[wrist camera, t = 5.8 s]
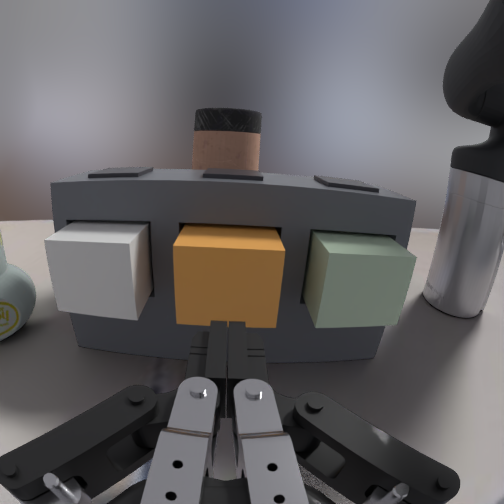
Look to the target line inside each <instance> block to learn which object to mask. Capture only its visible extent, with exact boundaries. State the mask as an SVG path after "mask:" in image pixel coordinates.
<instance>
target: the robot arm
mask: <svg viewBox="0 0 504 504" xmlns="http://www.w3.org/2000/svg"><path fill="white" fill-rule="evenodd" d="M443 92H444V97H445V99H446V102H447V104H448V106H449V107H450V108H451V109H452V111H453V112H455V113H457V114H458V115H460V116H462V117H464V118H466V119H470V120H473V121H476V122H479V123H482V124H485V125H488V126H491V130H490V135H489V138H488V140H487V141H485V142H483V143H480V144H476V145H466V146H458V147H456V148H454V150H453V152H452V158H451V167H452V168H450V174H449V181H448V187H447V194H446V200H445V205H444V211H443V216H442V221H441V225H440V230H439V234H438V239H437V243H436V247H435V251H434V255H433V259H432V263H431V266H430V270H429V274H428V277H427V281H426V284H425V287H424V291H423V295H424V297H425V299H426V300H427V301H428V302H429V303H430V304H431V305H433V306H434V307H436V308H437V309H439V310H441V311H443V312H445V313H448V314H450V315H454V316H457V317H463V318H470V317H474V316H477V315H478V314H479V311H480V310H484V308H485V305H486V302H487V300H488V297H489V294H490V292H491V289H492V286H493V283H494V280H495V277H496V274H497V271H498V268H499V264H500V261H501V258H502V254H503V250H504V244H503V243H502V241H503V237H504V0H490V1H489V3H488V5H487V7H486V8H485V10H484V12H483V14H482V16H481V17H480V19H479V21H478V22H477V24H476V25H475V26H474V28H473V29H472V31H471V32H470V33H469V34H468V35H467V36H466V37H465V39H464V40H463V41H462V42H461V43H460V44H459V46H458V47H457V48H456V49H455V51H454V52H453V54H452V55H451V57H450V59H449V61H448V63H447V66H446V69H445V73H444V79H443ZM226 350H227V321H215V320H211V323H210V331H209V332H208V331H198V332H197V333H196V334H195V335H194V336H193V338H192V341H191V348H190V352H189V358H188V364H187V369H186V375H185V380H184V381H183V382H182V383H181V384H180V385H179V388H177V389H176V390H174V391H171V392H167V393H160V394H155V392H154V391H153V390H152V389H151V388H149V387H147V386H143V385H133V386H129V387H127V388H125V389H123V390H122V391H120V392H118V393H117V394H115V395H113V396H112V397H110V398H108V399H106V400H105V401H103V402H101V403H100V404H98V405H96V406H94V407H93V408H91V409H89V410H87V411H85V412H84V413H82V414H80V415H78V416H77V417H75V418H73V419H71V420H69V421H68V422H66V423H64V424H62V425H60V426H58V427H57V428H55V429H53V430H51V431H49V432H47V433H45V434H44V435H42V436H40V437H38V438H36V439H34V440H32V441H30V442H28V443H26V444H24V445H22V446H20V447H18V448H16V449H14V450H12V451H10V452H8V453H6V454H4V455H3V456H1V457H0V484H1V485H2V486H3V487H5V488H6V489H7V490H8V491H9V492H10V493H11V494H12V495H13V496H14V497H15V498H16V499H17V500H19V502H20V503H21V504H92V500H91V499H92V498H94V497H96V496H97V495H99V494H100V493H102V492H104V491H105V490H107V489H108V488H110V487H111V486H113V485H114V484H116V483H117V482H119V481H120V480H122V479H123V478H125V477H126V476H128V475H129V474H131V473H132V472H133V471H135V470H136V469H138V468H139V467H140V466H142V465H143V464H145V463H146V462H147V461H149V460H150V459H152V458H153V459H152V463H151V466H150V470H149V474H148V477H147V479H145V480H142V481H140V482H137V483H136V484H134V485H132V486H130V487H129V488H128V489H126V490H125V491H124V492H122V493H121V494H120V495H118V496H117V497H115V498H114V499H113V500H111V501H110V502H108V503H107V504H336V503H334V502H333V501H332V500H330V499H329V498H328V497H326V496H325V495H324V494H322V493H321V492H320V491H318V490H316V489H315V488H313V487H311V486H308V485H306V484H303V480H302V477H301V473H300V470H299V466H298V463H299V464H300V465H302V466H303V467H304V468H306V469H307V470H308V471H310V472H311V473H312V474H314V475H315V476H316V477H318V478H319V479H320V480H322V481H323V482H325V483H326V484H327V485H329V486H330V487H332V488H333V489H334V490H336V491H337V492H339V493H340V494H342V495H343V496H345V497H346V498H348V499H349V500H351V501H352V502H354V503H355V504H445V503H447V502H448V501H449V500H451V499H452V498H453V497H454V496H455V495H456V494H457V493H458V491H459V488H460V479H459V476H458V475H457V473H456V472H455V471H454V470H452V469H451V468H449V467H447V466H445V465H443V464H441V463H439V462H437V461H435V460H433V459H431V458H429V457H428V456H426V455H424V454H422V453H420V452H418V451H417V450H415V449H413V448H411V447H409V446H408V445H406V444H404V443H402V442H401V441H399V440H397V439H395V438H394V437H392V436H390V435H389V434H387V433H385V432H384V431H382V430H380V429H379V428H377V427H375V426H374V425H372V424H370V423H369V422H367V421H366V420H364V419H362V418H361V417H359V416H357V415H356V414H354V413H353V412H351V411H350V410H348V409H346V408H345V407H343V406H342V405H340V404H339V403H337V402H336V401H334V400H333V399H331V398H330V397H328V396H326V395H325V394H322V393H319V392H307V393H304V394H302V395H300V396H299V397H298V398H297V399H295V398H291V397H286V396H283V395H280V394H278V393H277V392H275V391H274V390H273V389H272V388H271V386H270V384H269V381H268V373H267V366H266V359H265V351H264V344H263V340H262V339H261V337H260V336H259V335H258V334H257V333H246V323H245V322H242V321H229V330H228V366H227V418H232V440H233V449H234V458H235V466H236V477H237V479H234V480H229V481H223V480H218V479H214V478H213V472H214V463H215V455H216V447H217V439H218V431H219V428H220V418H225V395H226Z"/></svg>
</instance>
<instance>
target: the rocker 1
mask: <svg viewBox="0 0 504 504" xmlns="http://www.w3.org/2000/svg"><path fill="white" fill-rule="evenodd" d="M44 242H45V249H46V255H47V261H48V266H49V271H50V276H51V281H52V286H53V290H54V295H55V299H56V303H57V307H58V311H65V312H72V313H79V314H86V315H94V316H102V317H110V318H119V319H128V320H138V319H139V316H140V314H141V312H142V310H143V308H144V306H145V304H146V302H147V300H148V298H149V296H150V294H151V292H152V290H153V288H154V279H153V264H152V246H151V221H117V220H75V221H74V222H72V223H70V224H69V225H67V226H65V227H64V228H62V229H61V230H59V231H57V232H56V233H54V234H53V235H51V236H50V237H48V238H46V239H45V240H44Z"/></svg>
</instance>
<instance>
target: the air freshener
mask: <svg viewBox="0 0 504 504" xmlns="http://www.w3.org/2000/svg"><path fill="white" fill-rule="evenodd" d="M35 301H36V291H35V286H34V283H33V281H32V280H31V278H30V276H29V275H28V274H27V273H26V272H25V271H23V270H22V269H20V268H19V267H17V266H14V265H12V264H8V263H7V261H6V256H5V251H4V246H3V241H2V235H1V230H0V341H2V340H4V339H6V338H7V337H9V336H10V335H12V334H13V333H15V332H16V331H18V330H19V329H20V328H21V327H22V326H23V325H24V324H25V323H26V322H27V320H28V319H29V317H30V315H31V314H32V311H33V309H34V306H35Z"/></svg>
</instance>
